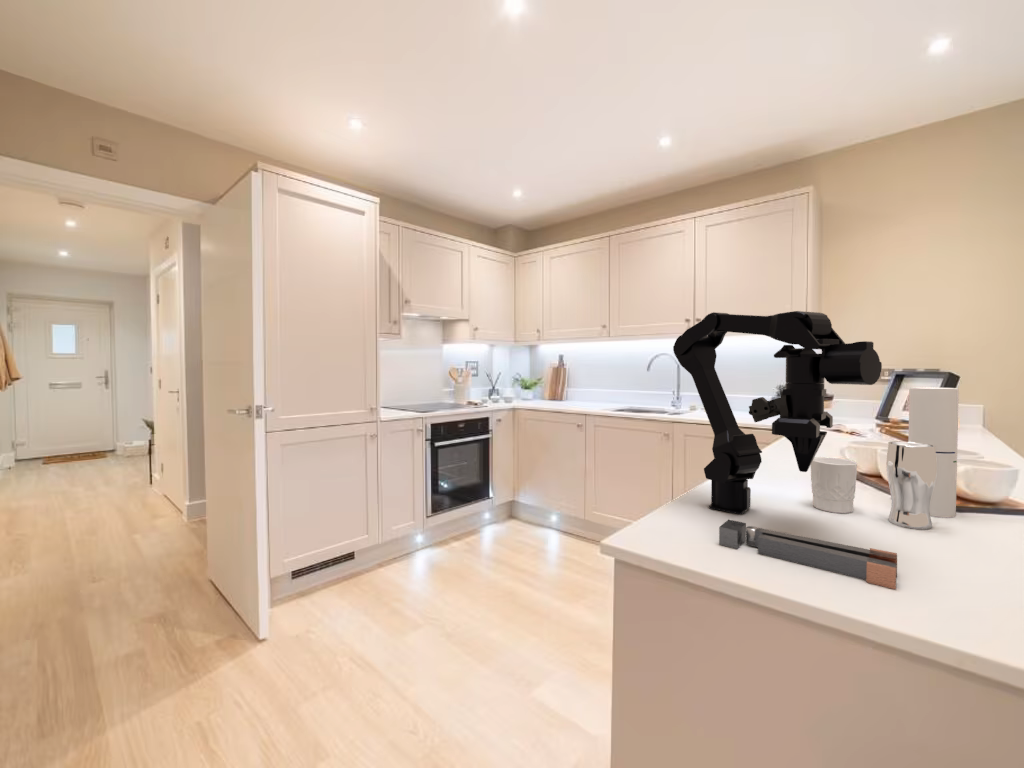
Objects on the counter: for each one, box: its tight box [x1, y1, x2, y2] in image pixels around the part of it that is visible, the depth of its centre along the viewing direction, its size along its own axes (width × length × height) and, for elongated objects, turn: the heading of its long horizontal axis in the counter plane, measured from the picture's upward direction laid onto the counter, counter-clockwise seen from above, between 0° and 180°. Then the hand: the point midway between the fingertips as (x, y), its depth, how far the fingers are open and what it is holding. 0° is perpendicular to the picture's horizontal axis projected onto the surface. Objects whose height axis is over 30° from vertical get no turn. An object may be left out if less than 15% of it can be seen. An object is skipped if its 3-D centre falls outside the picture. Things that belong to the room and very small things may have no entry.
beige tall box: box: [907, 386, 960, 519], centre depth 89 cm, size 7×7×25 cm
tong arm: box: [745, 525, 898, 579], centre depth 68 cm, size 19×3×3 cm, turn 50°
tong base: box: [718, 519, 898, 590], centre depth 68 cm, size 22×5×3 cm, turn 47°
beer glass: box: [885, 440, 937, 531], centre depth 82 cm, size 7×7×15 cm
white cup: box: [810, 456, 858, 514], centre depth 92 cm, size 8×8×10 cm
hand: (803, 471), depth 78 cm, fingers closed
